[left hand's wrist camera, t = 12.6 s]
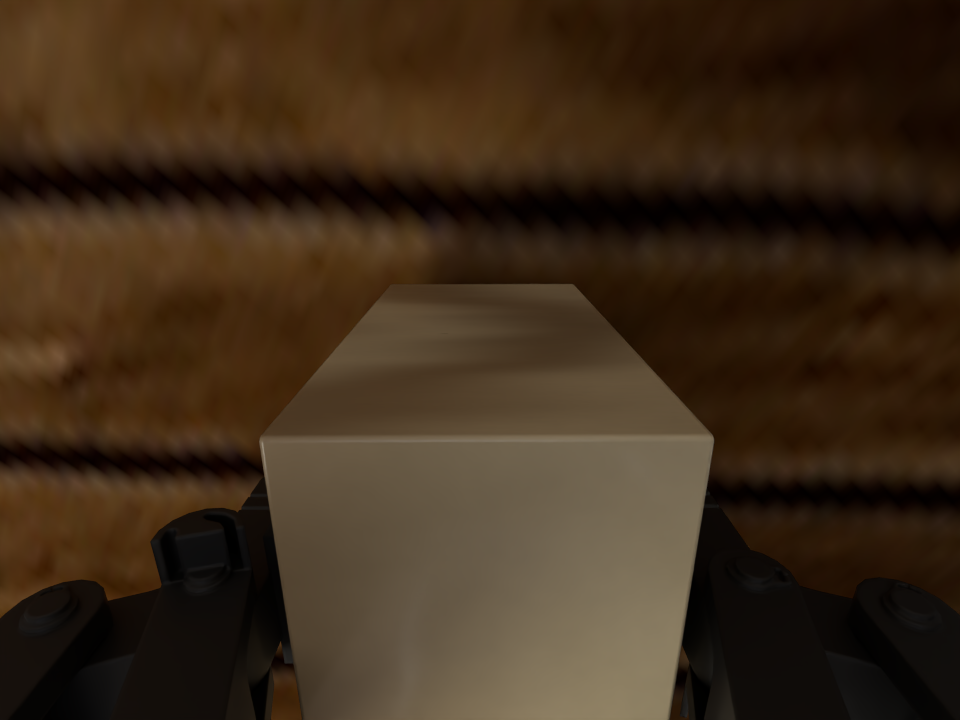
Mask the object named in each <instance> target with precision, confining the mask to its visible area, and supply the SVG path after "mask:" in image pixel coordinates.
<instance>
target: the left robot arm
mask: <svg viewBox="0 0 960 720" xmlns="http://www.w3.org/2000/svg"><path fill="white" fill-rule="evenodd" d="M150 542H151V546H152V550H153V553H154V557H155V561H156V565H157V568H158V572H159V576H160V579H161V583H162V585H161V588H159V589H156V590H152V591H149V592H145V593H140V594H136V595H132V596H127V597H123V598H119V599H114V600H110V601H108V600H107V597H106V594H105V591H104V588H103V587H102V586H100V585H99V584H98V583H97V582H95V581H88V580H75V581H69V582H63V583H60V584H57V585H54V586H51V587H48V588H45V589H42V590H41V591H39V592H37V593H35V594H33V595H31V596H29V597H28V598H26V599H24V600H22V601H21V602H20V603H18V604H17V605H16V606H14V607H13V608H12V609H11V610H9V611H8V612H7V613H6V614H4V615H3V616H2V617H1V618H0V720H271V712H272V701H273V691H274V680H273V673H272V668H271V663H272V660H273V658H274V655H275V653H276V651H277V648H278V646H279V644H280V641H281V644H282V650H283V655H284V661H285V663H294V662H293V656H292V650H291V643H290V637H289V630H288V624H287V617H286V611H285V604H284V598H283V591H282V585H281V578H280V572H279V565H278V559H277V553H276V546H275V540H274V533H273V527H272V520H271V514H270V507H269V501H268V494H267V488H266V481H265V477H264V478H262V479H261V480H260V482H259V483H258V484H257V486H256V487H255V489H254V490H253V491H252V493H251V496H250V497H248V499H247V500H246V501H245V503H244V504H243V506H242V510H239V511H238V513H237V512H236V511H234V510H229V509H225V508H211V509H204V510H200V511H196V512H192V513H188V514H186V515H184V516H182V517H179V518H177V519H175V520H173V521H171V522H170V523H169V524H167V525H166V526H164V527H163V528H162V529H160V530H159V531H158V532H157V534H156V535H155V536H154V538H153V539H152V540H151V541H150ZM682 646H683V648H684V650H685V653H686V655H687V658H688V660H689V662H690V663H689V668H688V673H687V679H686V684H685V689H684V694H683V700H682V705H681V712H680V716H682V717H686V718H687V714H688V710H689V720H960V615H959V614H958V613H957V612H956V611H955V610H953V609H952V608H951V607H949V606H948V605H947V604H946V603H944V602H943V601H942V600H940V599H939V598H937V597H936V596H934V595H932V594H930V593H928V592H926V591H924V590H923V589H921V588H919V587H916V586H913V585H911V584H907V583H905V582H902V581H899V580H893V579H887V578H880V577H879V578H871V579H865V580H864V581H863V582H861V583H860V584H859V585H858V586H857V588H856V591H855V594H854V597H853V599H851V598H847V597H842V596H838V595H834V594H829V593H825V592H820V591H816V590H812V589H809V588H805V587H802V586H799V584H798V583H797V581H796V580H795V578H794V577H793V575H792V574H791V572H790V571H789V570H787V569H786V568H785V567H784V566H782V565H781V564H780V563H779V562H778V561H776V560H774V559H772V558H770V557H768V556H766V555H764V554H762V553H759V552H756V551H752V550H750V549H749V547H748V546H747V545H746V543H745V542H744V540H743V539H742V537H741V536H740V535H739V533H738V532H737V530H736V529H735V528H734V526H733V525H732V523H731V522H730V520H729V519H728V518H727V516H726V515H725V513H724V512H723V511H722V509H721V508H719V505H718V503H717V502H716V501H715V499H714V498H713V496H710V492H709V491H708V489H706V495H705V501H704V507H703V514H702V520H701V526H700V532H699V539H698V545H697V551H696V557H695V564H694V570H693V576H692V582H691V589H690V595H689V601H688V607H687V614H686V620H685V626H684V632H683V639H682Z"/></svg>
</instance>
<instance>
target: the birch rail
mask: <svg viewBox="0 0 960 720" xmlns="http://www.w3.org/2000/svg"><path fill="white" fill-rule="evenodd" d="M259 442H260V449H261V456H262V462H263V468H264V475H265V481H266V488H267V494H268V501H269V507H270V514H271V520H272V527H273V533H274V540H275V546H276V553H277V559H278V565H279V572H280V578H281V585H282V591H283V598H284V604H285V611H286V617H287V624H288V630H289V637H290V643H291V650H292V656H293V662H294V669H295V675H296V682H297V688H298V695H299V701H300V708H301V714H302V720H670V714H671V707H672V701H673V695H674V689H675V682H676V676H677V670H678V664H679V657H680V651H681V645H682V639H683V632H684V626H685V620H686V614H687V607H688V601H689V595H690V589H691V582H692V576H693V570H694V564H695V557H696V551H697V545H698V539H699V532H700V526H701V520H702V514H703V507H704V501H705V495H706V489H707V482H708V476H709V470H710V464H711V457H712V451H713V445H714V438H713V435H712V434H711V433H710V432H709V430H708V429H707V428H706V427H705V426H704V425H703V424H702V423H701V422H700V421H699V420H698V419H697V417H696V416H695V415H694V414H693V413H692V412H691V411H690V410H689V409H688V408H687V407H686V406H685V405H684V403H683V402H682V401H681V400H680V399H679V398H678V397H677V396H676V395H675V394H674V393H673V392H672V390H671V389H670V388H669V387H668V386H667V385H666V384H665V383H664V382H663V381H662V380H661V379H660V377H659V376H658V375H657V374H656V373H655V372H654V371H653V370H652V369H651V368H650V367H649V366H648V365H647V363H646V362H645V361H644V360H643V359H642V358H641V357H640V356H639V355H638V354H637V353H636V352H635V350H634V349H633V348H632V347H631V346H630V345H629V344H628V343H627V342H626V341H625V340H624V339H623V337H622V336H621V335H620V334H619V333H618V332H617V331H616V330H615V329H614V328H613V327H612V326H611V324H610V323H609V322H608V321H607V320H606V319H605V318H604V317H603V316H602V315H601V314H600V313H599V312H598V310H597V309H596V308H595V307H594V306H593V305H592V304H591V303H590V302H589V301H588V300H587V299H586V297H585V296H584V295H583V294H582V293H581V292H580V291H579V290H578V289H577V288H576V287H575V286H574V285H573V284H392V285H390V286H389V288H388V289H387V290H386V291H385V292H384V293H383V295H382V296H381V297H380V298H379V299H378V300H377V301H376V303H375V304H374V305H373V306H372V307H371V308H370V310H369V311H368V312H367V313H366V314H365V315H364V317H363V318H362V319H361V320H360V321H359V322H358V324H357V325H356V326H355V327H354V328H353V329H352V331H351V332H350V333H349V334H348V335H347V336H346V338H345V339H344V340H343V341H342V342H341V343H340V345H339V346H338V347H337V348H336V349H335V350H334V351H333V353H332V354H331V355H330V356H329V357H328V358H327V360H326V361H325V362H324V363H323V364H322V365H321V367H320V368H319V369H318V370H317V371H316V372H315V374H314V375H313V376H312V377H311V378H310V379H309V381H308V382H307V383H306V384H305V385H304V386H303V388H302V389H301V390H300V391H299V392H298V393H297V395H296V396H295V397H294V398H293V399H292V400H291V401H290V403H289V404H288V405H287V406H286V407H285V408H284V410H283V411H282V412H281V413H280V414H279V415H278V417H277V418H276V419H275V420H274V421H273V422H272V424H271V425H270V426H269V427H268V428H267V429H266V431H265V432H264V433H263V434H262V435H261V437H260V440H259Z"/></svg>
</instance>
